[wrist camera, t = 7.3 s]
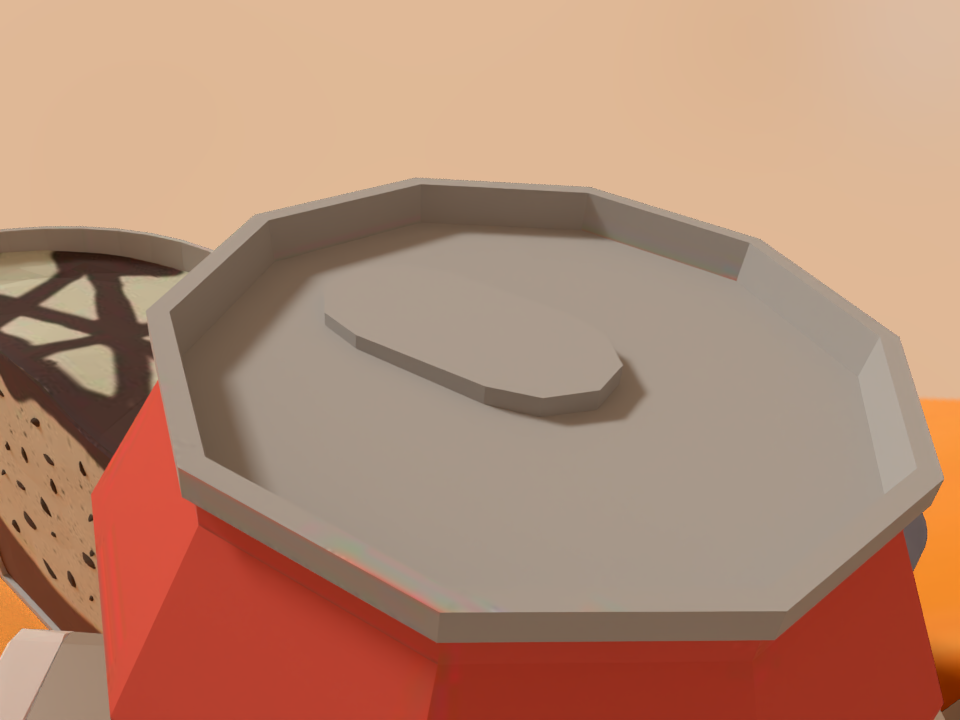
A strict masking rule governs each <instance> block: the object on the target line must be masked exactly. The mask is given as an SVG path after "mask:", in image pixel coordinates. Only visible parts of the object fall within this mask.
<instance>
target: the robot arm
mask: <svg viewBox="0 0 960 720" xmlns="http://www.w3.org/2000/svg"><path fill="white" fill-rule="evenodd" d="M0 720H111V719H110V709H109V698H108V686H107V674H106V663H105V651H104V640H103V634H98V633H85V632H74V631H57V630H39V629H21V630H20V631H19V632H18V633H17V634H16V635H15V637H14V638H13V639H12V640H11V641H10V642H9V643H8V644H7V646H6V648H5V650H4V652H3V654H2V655H1V657H0ZM934 720H945V718H944V716H943V714H942V712H941V710H939V712H938V714H937V715H936V717H935V719H934Z"/></svg>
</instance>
